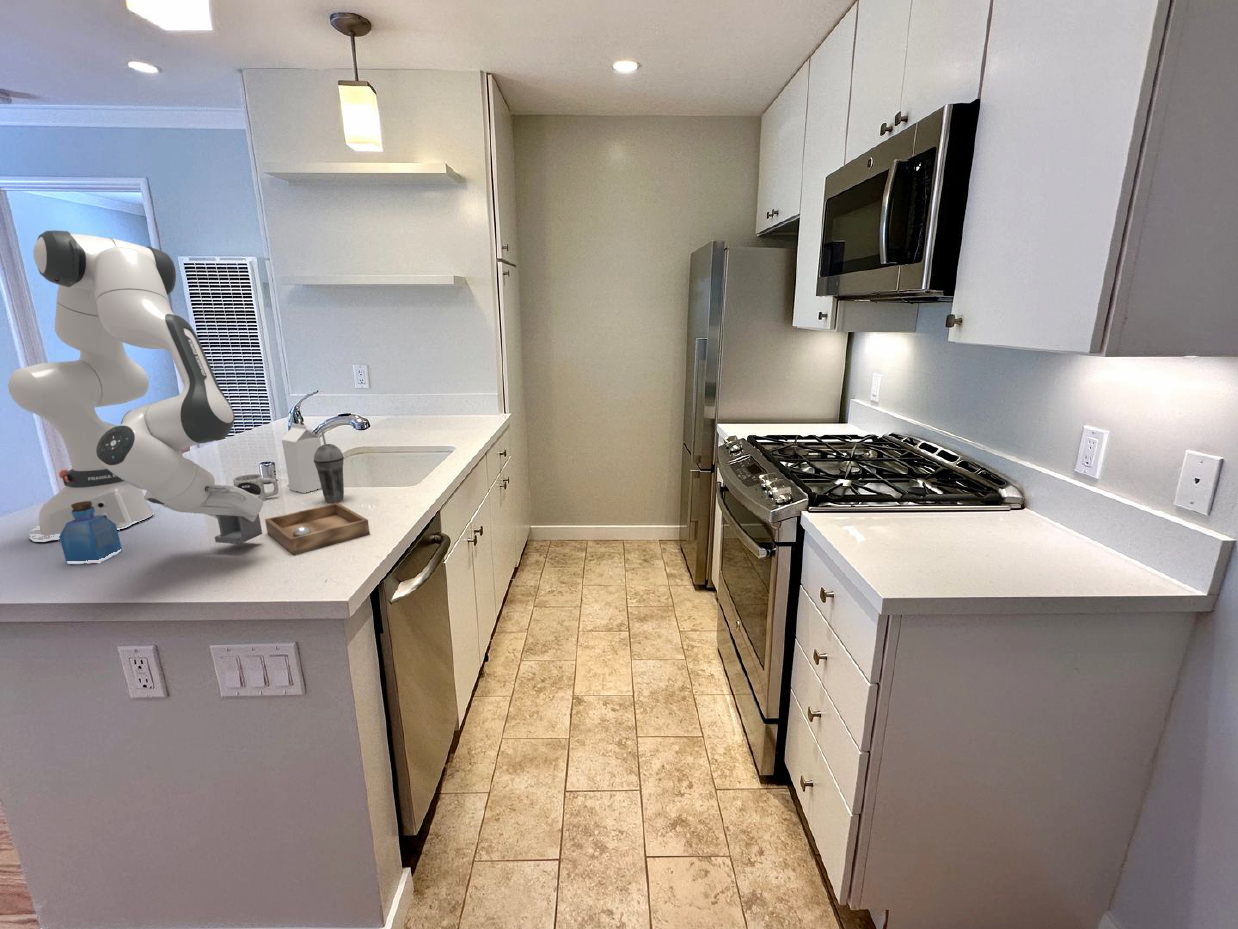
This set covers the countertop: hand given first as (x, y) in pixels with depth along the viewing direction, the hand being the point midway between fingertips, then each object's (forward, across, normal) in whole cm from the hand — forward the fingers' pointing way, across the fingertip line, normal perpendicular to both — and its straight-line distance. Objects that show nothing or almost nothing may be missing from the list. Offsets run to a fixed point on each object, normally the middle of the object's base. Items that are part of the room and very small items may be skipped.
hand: (238, 517), depth 123 cm
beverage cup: (+27, +2, -18) cm, 33 cm away
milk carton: (+33, +17, -24) cm, 44 cm away
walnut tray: (+12, -11, -2) cm, 16 cm away
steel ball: (+5, -13, +1) cm, 14 cm away
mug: (+25, +23, -15) cm, 37 cm away
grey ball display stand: (+3, 0, +4) cm, 4 cm away
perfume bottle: (-3, +26, +13) cm, 29 cm away
